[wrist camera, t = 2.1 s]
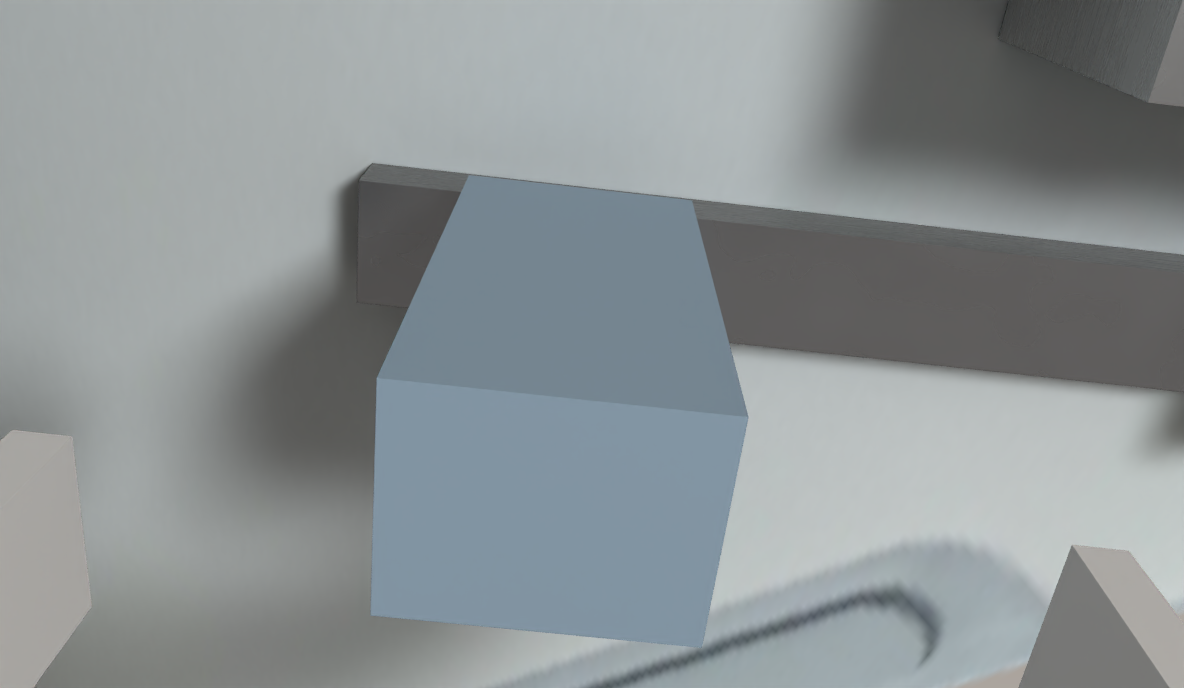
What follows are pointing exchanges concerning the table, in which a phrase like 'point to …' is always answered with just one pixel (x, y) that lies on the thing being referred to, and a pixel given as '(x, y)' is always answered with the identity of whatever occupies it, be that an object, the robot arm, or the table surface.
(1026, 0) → the grey block with hole
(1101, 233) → the table surface
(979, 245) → the rail
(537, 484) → the carriage
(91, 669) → the table surface
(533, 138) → the table surface
